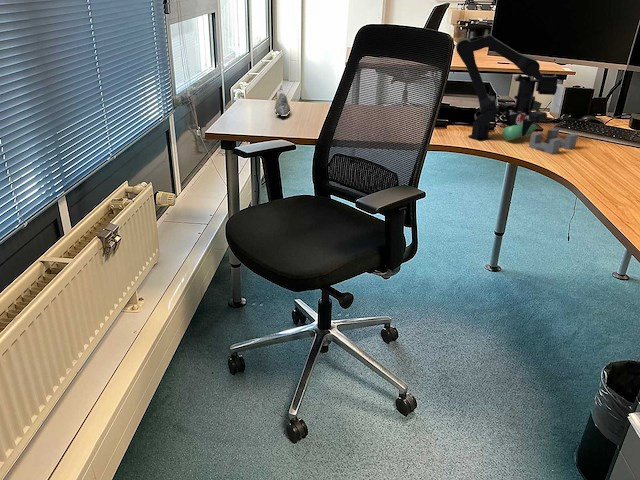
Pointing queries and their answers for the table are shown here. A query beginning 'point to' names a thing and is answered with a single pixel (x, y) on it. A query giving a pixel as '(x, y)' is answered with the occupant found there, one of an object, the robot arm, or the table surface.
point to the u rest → (552, 141)
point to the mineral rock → (282, 105)
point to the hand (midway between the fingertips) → (517, 134)
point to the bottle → (517, 131)
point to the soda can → (520, 118)
